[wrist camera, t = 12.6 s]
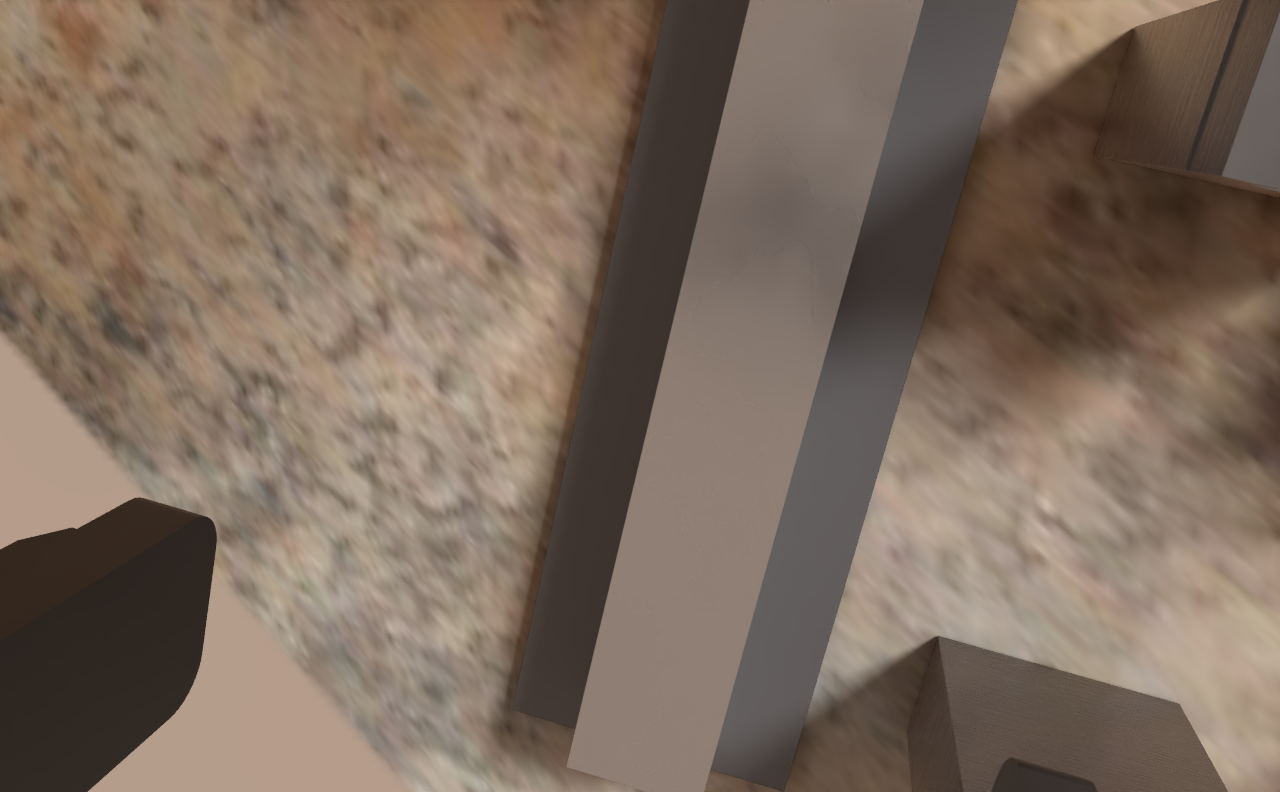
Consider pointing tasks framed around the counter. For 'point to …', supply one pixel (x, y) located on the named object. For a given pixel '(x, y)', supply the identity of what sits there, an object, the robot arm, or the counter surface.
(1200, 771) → the post
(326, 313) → the counter surface
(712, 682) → the rail
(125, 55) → the counter surface
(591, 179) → the counter surface
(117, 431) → the counter surface
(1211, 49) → the post
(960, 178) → the mat
